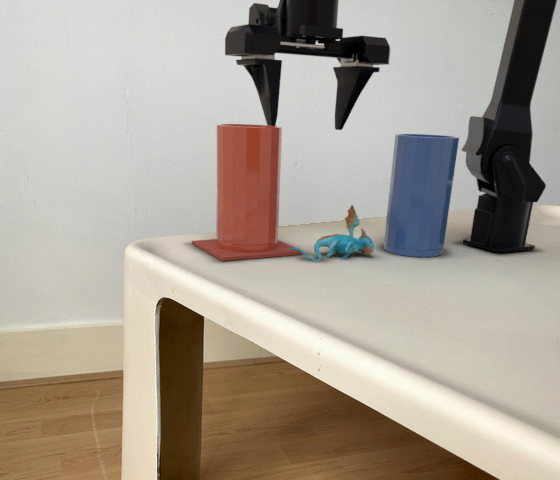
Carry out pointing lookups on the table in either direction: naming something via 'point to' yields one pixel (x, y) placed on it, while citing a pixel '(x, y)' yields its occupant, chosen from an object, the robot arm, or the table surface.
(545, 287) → the table surface
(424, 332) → the table surface
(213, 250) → the red mat
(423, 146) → the blue cup
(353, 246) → the dragon figurine
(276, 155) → the red cup
